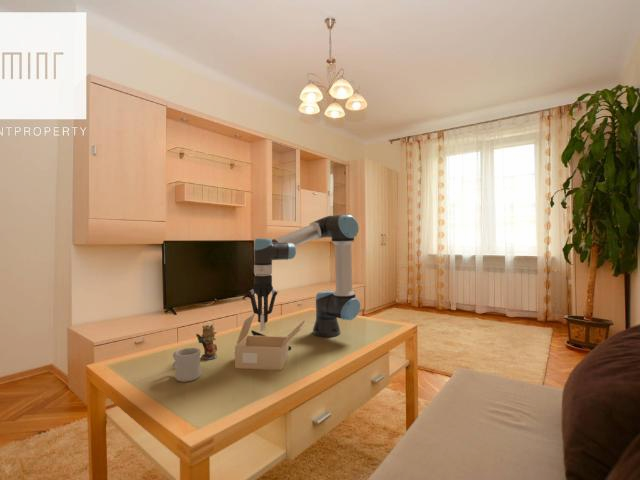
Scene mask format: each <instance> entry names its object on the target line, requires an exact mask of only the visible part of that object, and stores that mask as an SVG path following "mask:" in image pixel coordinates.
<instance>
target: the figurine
mask: <svg viewBox="0 0 640 480" xmlns="http://www.w3.org/2000/svg"><path fill="white" fill-rule="evenodd" d="M202 328H203V329H202V334H198V333H196V337H197V340H198V343H199V344H201V345H202V346H203V350H204V354H203V353H202V355H201V356H200V359H201V360H207V361H208V360H214V359H215V360H216V358H217V357H218V354H217V352H218V346H217V344H216V343H214V341H216V340H217V338H215V335H216V334H217V333H218V332H217V331H215V327H214V324H206V325H202Z"/></svg>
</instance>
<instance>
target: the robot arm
mask: <svg viewBox="0 0 640 480" xmlns="http://www.w3.org/2000/svg"><path fill="white" fill-rule="evenodd" d="M359 228H360V227H359V223H358V221H357V219H356V218H355V217H354V216H352V215H351V214H338V215H327V216H324V217H322V218H319V219H316V220H314V221H312V222H310V223H309V225H306V226H304V227H300V228H299V229H296V230H294V231H291V232H289V233H286V234H283V235H280V236H278V237H275V238H274V239H272V238H256V239H254V243H253V261H254V262H253V274H254V276H253V287H252V289H251V290H248V291H247V295H248V296H249V297H250V303H251V306H252V311H253V314H255V315H257V321H258V323H260V325H259V330H260V332H261V331H262V332H263V331H265V330H266V323H267V322H268V319H269V315H271V313H272V312H273V309H274V306H275V300H276V296H278V294H279V291H278V290H276V289H274V287H273V276H272V273H273V261H280V260H281V261H282V260H283V261H284V260H286V261H287V260H291V259H295V256H296V254H297V247H298V246H300V245H303V244H305V243H307V242H310V241H312V240H320V239H323V238H331V243H333V245H334V264H335V265H334V266H335V267H334V269H335V270H334V271H335V273H334V274H335V290H327V291H325V290H324V291H318V292H317V293H316V296H315V297H316V298H315V316H316V317H315V321H314V325H313V327H312V333H313V335H315V336H318V337H323V338H331V336H333V337H336V335H337V336H339V335H340V334H341V328H340V325H339V321H338V319H341V320H343V321H353V320H354V319H355V318H356V317H358V315H359V313H360V310H361V301H359V299H358V298H356V292H355V291H354V290H353V266H352V244H353V243H354V242H355V238H356V237H357V235H358V233H359ZM255 294H256V296H257V300H256V297H255ZM270 294H271V299H270V303H269V296H270ZM338 334H339V335H338Z"/></svg>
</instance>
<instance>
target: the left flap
mask: <svg viewBox="0 0 640 480" xmlns="http://www.w3.org/2000/svg"><path fill="white" fill-rule="evenodd" d="M255 315H256V313H252V314H251V315H250V316H249V317H247V318H246V319H245V320H244V322H243V325H242V327H241V330H240V333H239V335H238V337H237V341H236V345H237V344H238V343H239V342H240V341H241V340H242V339H243V338H244V337H245V336H247V335H249V332H250V330H251V329H250V328H251V326H252V323H253V321H254V317H255Z"/></svg>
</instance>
